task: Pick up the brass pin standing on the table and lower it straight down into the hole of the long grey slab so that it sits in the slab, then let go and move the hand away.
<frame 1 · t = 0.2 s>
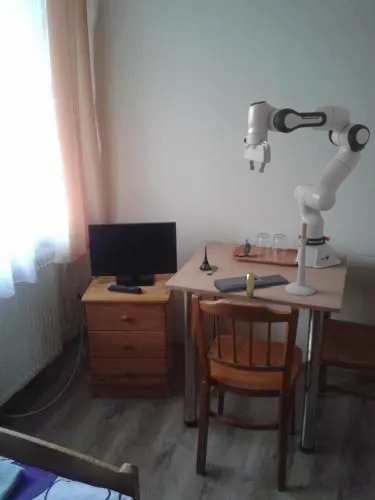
hand: (256, 171, 203), 48 cm above the table, tool pointing down, fingers open, 8 cm apart
brass pin: (249, 296, 187), on the table
candlestick: (300, 290, 192), on the table
pocket watch: (242, 256, 238), on the table
long grey slab: (251, 284, 199), on the table
eiffel tower figurine: (206, 270, 219), on the table
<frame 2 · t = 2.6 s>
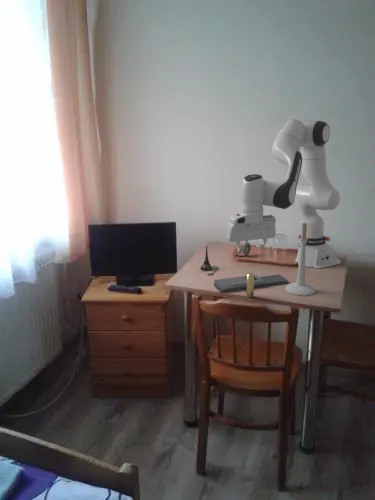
hand: (250, 250, 180), 20 cm above the table, tool pointing down, fingers open, 8 cm apart
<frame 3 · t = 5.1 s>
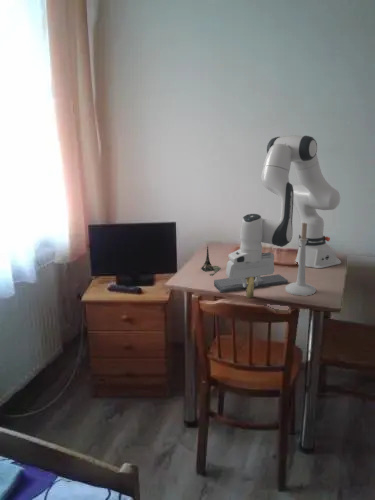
hand: (250, 286, 185), 5 cm above the table, tool pointing down, fingers closed on brass pin, 3 cm apart
brass pin: (249, 296, 187), on the table, touching gripper
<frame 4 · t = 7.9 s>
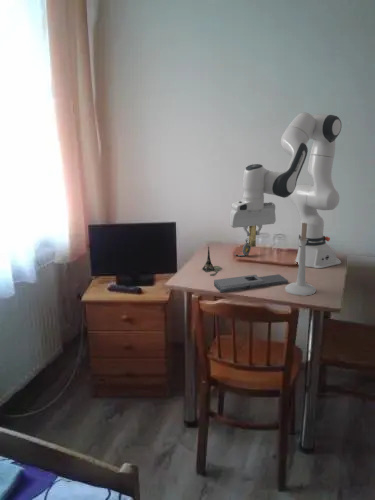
hand: (252, 235, 192), 23 cm above the table, tool pointing down, fingers closed on brass pin, 3 cm apart
brass pin: (252, 245, 194), point 18 cm above the table, touching gripper
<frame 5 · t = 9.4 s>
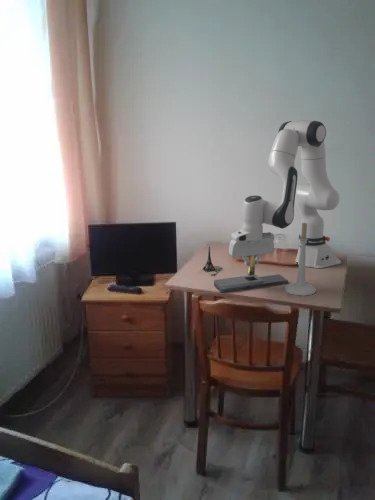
hand: (251, 264, 196), 10 cm above the table, tool pointing down, fingers closed on brass pin, 3 cm apart
brass pin: (251, 274, 198), point 5 cm above the table, touching gripper
when the fingers open (5 cm above the table, at t = 10.8 s): brass pin stays where it is, resting in long grey slab.
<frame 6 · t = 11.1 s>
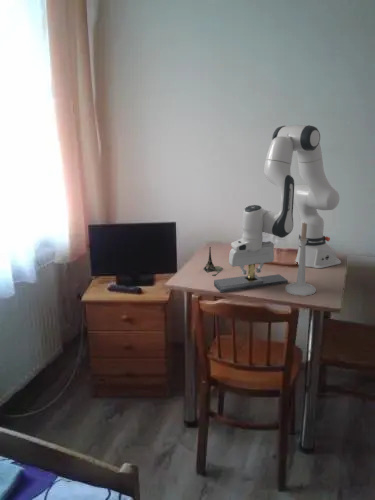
hand: (251, 273, 198), 5 cm above the table, tool pointing down, fingers open, 5 cm apart
brass pin: (251, 284, 199), resting in long grey slab
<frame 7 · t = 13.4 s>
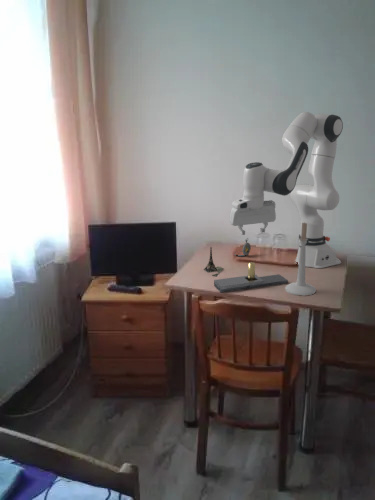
hand: (252, 233, 193), 23 cm above the table, tool pointing down, fingers open, 8 cm apart
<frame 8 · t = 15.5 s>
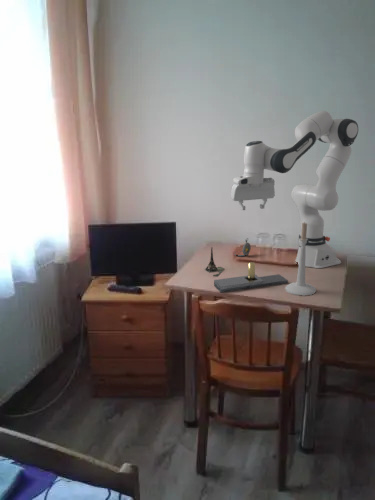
hand: (252, 209, 203), 31 cm above the table, tool pointing down, fingers open, 8 cm apart
at the end: brass pin 0.1 cm off-centre on the long grey slab, point 0.0 cm above the long grey slab's base; brass pin tilted 0°; the gripper is holding nothing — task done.
